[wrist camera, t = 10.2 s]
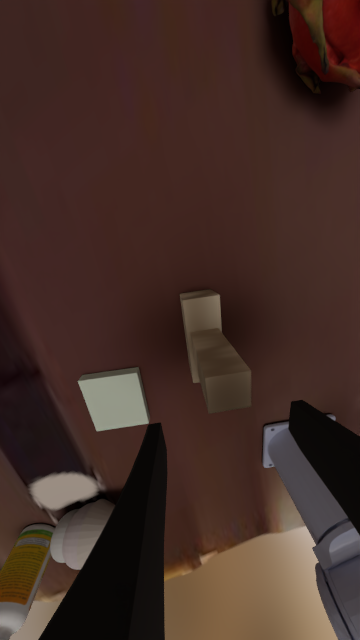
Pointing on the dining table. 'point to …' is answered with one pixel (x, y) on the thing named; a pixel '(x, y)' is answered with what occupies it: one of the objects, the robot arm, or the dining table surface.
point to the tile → (115, 398)
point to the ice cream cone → (79, 533)
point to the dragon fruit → (324, 40)
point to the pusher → (213, 354)
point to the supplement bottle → (23, 576)
